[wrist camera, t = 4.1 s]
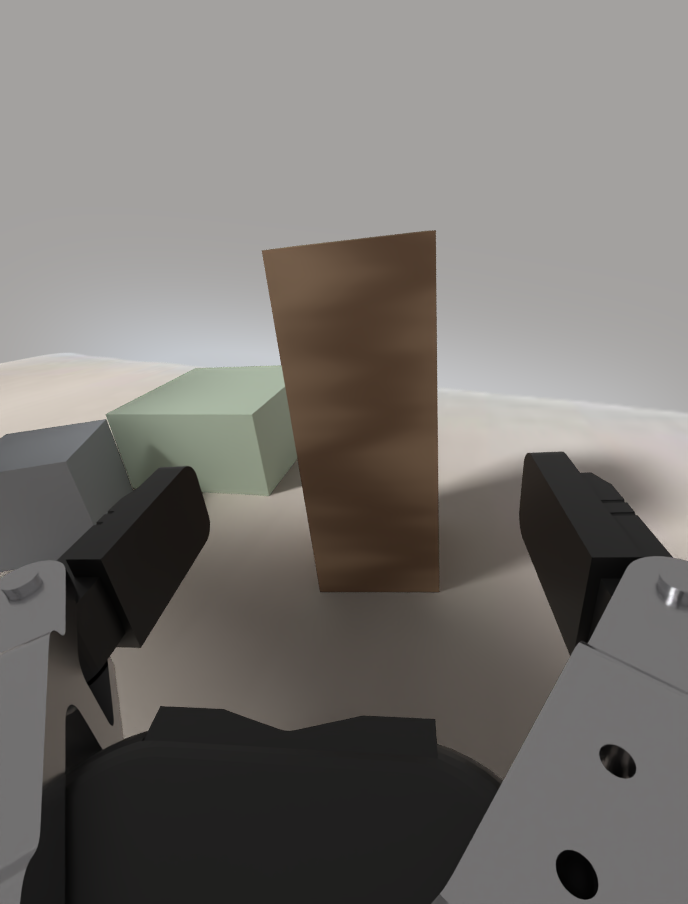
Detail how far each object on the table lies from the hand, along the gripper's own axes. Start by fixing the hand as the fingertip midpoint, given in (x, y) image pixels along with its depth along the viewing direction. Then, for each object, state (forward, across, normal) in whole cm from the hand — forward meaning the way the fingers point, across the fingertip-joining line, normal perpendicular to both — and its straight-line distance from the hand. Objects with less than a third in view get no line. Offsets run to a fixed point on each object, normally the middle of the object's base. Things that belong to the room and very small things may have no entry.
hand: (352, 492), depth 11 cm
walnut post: (+6, 0, +6) cm, 9 cm away
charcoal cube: (+8, +16, +7) cm, 19 cm away
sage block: (+15, +10, +7) cm, 20 cm away
